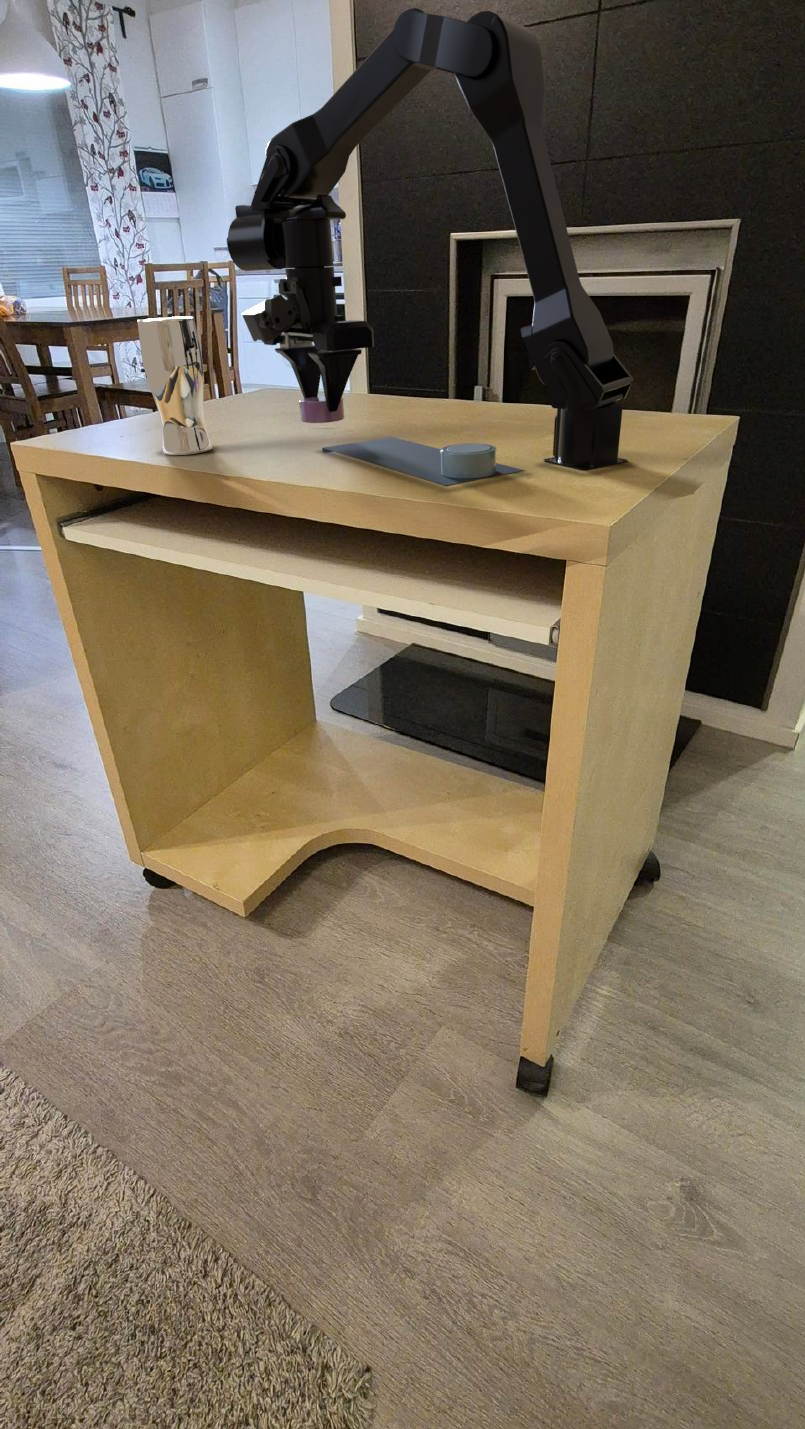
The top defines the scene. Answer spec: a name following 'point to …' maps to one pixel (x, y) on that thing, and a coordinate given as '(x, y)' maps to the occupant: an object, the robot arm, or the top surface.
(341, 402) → the purple puck
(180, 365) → the beer glass
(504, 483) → the top surface
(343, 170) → the robot arm
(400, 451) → the placemat
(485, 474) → the grey-blue puck
